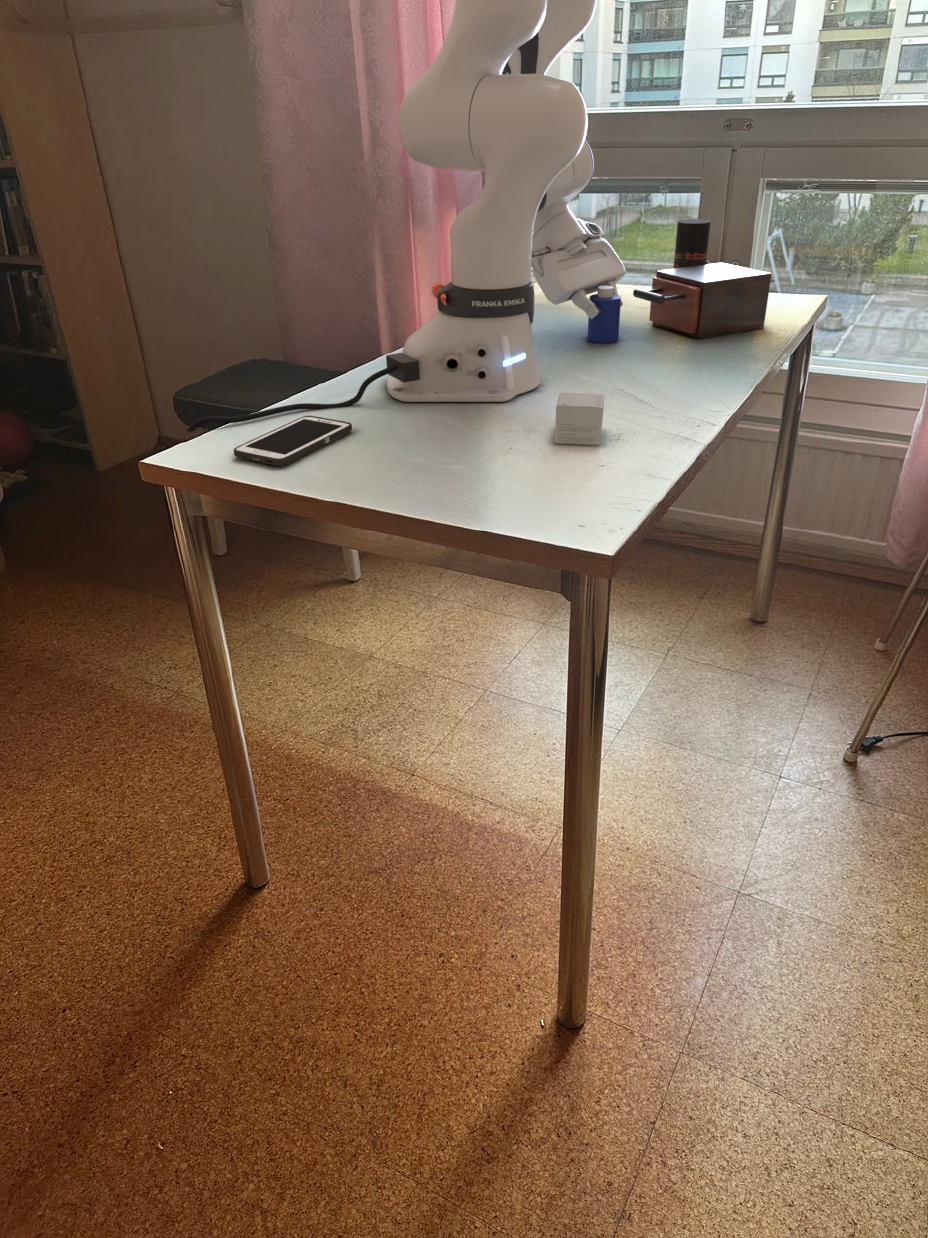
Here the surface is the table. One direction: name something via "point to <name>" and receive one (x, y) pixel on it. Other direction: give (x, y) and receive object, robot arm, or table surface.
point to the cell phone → (292, 440)
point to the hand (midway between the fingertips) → (607, 311)
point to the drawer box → (724, 297)
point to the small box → (579, 418)
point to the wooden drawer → (673, 303)
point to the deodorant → (691, 242)
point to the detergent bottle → (605, 316)
